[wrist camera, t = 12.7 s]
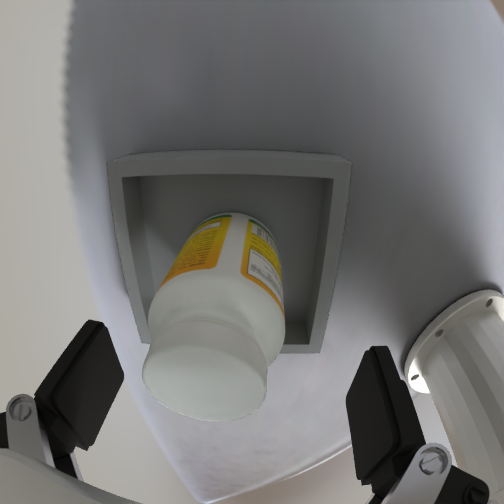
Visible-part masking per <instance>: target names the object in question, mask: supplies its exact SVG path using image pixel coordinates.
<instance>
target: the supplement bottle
mask: <svg viewBox="0 0 504 504" xmlns="http://www.w3.org/2000/svg"><path fill="white" fill-rule="evenodd" d="M148 326H149V332H150V336H151V339H152V342H151V345H150V348H149V351H148V354H147V357H146V359H145V362H144V365H143V369H142V377H143V381H144V384H145V386H146V388H147V390H148V391H149V393H150V394H151V395H152V396H153V397H154V398H155V399H156V400H157V401H158V402H159V403H161V404H162V405H163V406H165V407H167V408H168V409H170V410H172V411H174V412H176V413H178V414H180V415H183V416H186V417H189V418H192V419H197V420H202V421H212V422H223V421H231V420H237V419H241V418H243V417H246V416H248V415H250V414H252V413H253V412H255V411H256V410H257V409H258V408H259V407H260V406H261V405H262V403H263V402H264V399H265V396H266V386H267V372H268V367H269V366H270V365H271V364H272V363H273V362H274V360H275V359H276V358H277V356H278V355H279V353H280V351H281V349H282V346H283V343H284V338H285V315H284V303H283V290H282V278H281V265H280V255H279V249H278V245H277V242H276V240H275V238H274V236H273V235H272V233H271V232H270V230H269V229H268V228H267V227H266V226H265V225H264V224H263V223H261V222H260V221H258V220H257V219H255V218H253V217H251V216H248V215H245V214H241V213H221V214H217V215H215V216H212V217H210V218H208V219H206V220H204V221H203V222H201V223H200V224H199V225H198V226H197V227H196V228H195V229H194V230H193V232H192V233H191V234H190V236H189V237H188V239H187V241H186V243H185V244H184V246H183V248H182V250H181V251H180V253H179V255H178V256H177V258H176V260H175V261H174V263H173V265H172V267H171V268H170V270H169V272H168V274H167V275H166V277H165V279H164V280H163V282H162V284H161V285H160V287H159V289H158V291H157V293H156V294H155V296H154V298H153V301H152V303H151V306H150V309H149V314H148Z"/></svg>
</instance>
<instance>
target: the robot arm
mask: <svg viewBox="0 0 504 504" xmlns="http://www.w3.org/2000/svg"><path fill="white" fill-rule="evenodd" d="M404 373H405V377H406V380H407V382H408V384H409V386H410V387H411V388H412V389H413V390H414V391H417V392H420V393H430V394H431V396H432V399H433V401H434V403H435V405H436V408H437V411H438V413H439V415H440V418H441V421H442V423H443V426H444V428H445V431H446V434H447V436H448V439H449V442H450V445H451V447H452V450H453V453H454V456H455V459H456V462H457V465H458V468H457V467H455V466H453V465H451V464H452V460H451V455H450V452H449V451H448V450H447V448H446V447H444V446H443V445H441V444H438V443H429V444H426V442H425V439H424V435H423V432H422V429H421V426H420V423H419V420H418V416H417V413H416V410H415V407H414V404H413V401H412V399H411V396H410V393H409V390H408V387H407V385H406V383H405V381H403V380H401V379H400V377H399V374H398V371H397V368H396V366H395V363H394V361H393V358H392V355H391V353H390V350H389V348H388V347H387V346H372V347H370V349H369V350H366V351H365V353H364V355H363V358H362V360H361V363H360V365H359V368H358V370H357V373H356V375H355V377H354V380H353V382H352V384H351V387H350V389H349V391H348V393H347V396H346V408H347V414H348V420H349V426H350V433H351V440H352V447H353V454H354V461H355V469H356V477H357V479H358V480H361V483H362V485H369V484H371V486H372V492H373V494H372V495H371V497H370V498H369V499H368V501H367V502H366V503H365V504H504V296H503V295H502V294H501V293H499V292H498V291H495V290H490V289H488V290H480V291H477V292H474V293H471V294H469V295H467V296H465V297H463V298H461V299H459V300H458V301H456V302H455V303H453V304H452V305H450V306H449V307H448V308H447V309H445V310H444V311H443V312H442V313H440V314H439V315H438V316H437V317H436V318H435V319H434V320H433V321H432V322H431V323H430V324H429V325H428V326H427V327H426V329H425V330H424V331H423V332H422V333H421V334H420V336H419V337H418V339H417V340H416V342H415V343H414V345H413V346H412V348H411V350H410V352H409V354H408V356H407V359H406V362H405V369H404ZM123 380H124V372H123V370H122V367H121V365H120V362H119V359H118V357H117V354H116V351H115V349H114V346H113V343H112V340H111V337H110V334H109V331H108V328H107V327H105V325H104V323H103V322H99V321H94V320H88V321H87V322H86V323H85V324H84V325H83V327H82V328H81V329H80V331H79V332H78V333H77V335H76V336H75V337H74V339H73V340H72V341H71V342H70V344H69V345H68V346H67V348H66V349H65V351H64V352H63V353H62V355H61V356H60V358H59V359H58V360H57V362H56V363H55V364H54V366H53V367H52V369H51V370H50V372H49V373H48V375H47V376H46V378H45V379H44V380H43V382H42V383H41V385H40V386H39V388H38V389H37V391H36V392H35V394H34V395H35V398H34V399H33V398H32V397H31V396H29V395H27V394H19V395H16V396H14V397H13V398H12V399H11V400H10V401H9V402H8V405H7V407H6V412H3V413H0V504H141V503H138V502H135V501H132V500H129V499H126V498H123V497H120V496H117V495H114V494H112V493H109V492H106V491H104V490H101V489H99V488H96V487H94V486H92V485H89V484H87V483H85V482H84V481H83V478H82V475H81V473H80V470H79V467H78V464H77V461H76V458H75V455H74V449H75V446H77V447H79V448H81V449H83V450H86V451H87V450H88V448H89V446H92V445H93V444H94V442H95V440H96V437H97V435H98V433H99V431H100V428H101V427H102V424H103V422H104V420H105V418H106V415H107V414H108V411H109V409H110V407H111V405H112V403H113V401H114V399H115V397H116V395H117V393H118V391H119V389H120V387H121V385H122V383H123ZM494 493H495V494H494Z"/></svg>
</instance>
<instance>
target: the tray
mask: <svg viewBox="0 0 504 504" xmlns="http://www.w3.org/2000/svg"><path fill="white" fill-rule="evenodd" d="M351 170H352V163H351V162H349V161H347V160H345V159H344V158H342V157H340V156H338V155H335V154H325V153H312V152H298V151H279V150H245V149H213V150H179V151H161V152H146V153H134V154H129V155H126V156H123V157H121V158H118V159H115V160H112V161H110V162H107V173H108V183H109V191H110V199H111V207H112V214H113V220H114V226H115V232H116V238H117V244H118V249H119V254H120V259H121V264H122V269H123V274H124V278H125V282H126V287H127V291H128V295H129V299H130V303H131V307H132V311H133V314H134V318H135V322H136V325H137V329H138V332H139V336H140V339H141V342H142V343H145V344H151V342H152V339H151V336H150V332H149V326H148V314H149V309H150V306H151V303H152V301H153V298H154V296H155V294H156V293H157V291H158V289H159V287H160V285H161V284H162V282H163V280H164V279H165V277H166V275H167V274H168V272H169V270H170V268H171V267H172V265H173V263H174V261H175V260H176V258H177V256H178V255H179V253H180V251H181V250H182V248H183V246H184V244H185V243H186V241H187V239H188V237H189V236H190V234H191V233H192V232H193V230H194V229H195V228H196V227H197V226H198V225H199V224H200V223H201V222H203V221H204V220H206V219H208V218H210V217H212V216H215V215H217V214H221V213H241V214H245V215H248V216H251V217H253V218H255V219H257V220H258V221H260V222H261V223H263V224H264V225H265V226H266V227H267V228H268V229H269V230H270V232H271V233H272V235H273V236H274V238H275V240H276V242H277V245H278V249H279V255H280V265H281V278H282V290H283V303H284V315H285V338H284V343H283V346H282V349H281V351H280V353H320V350H321V346H322V342H323V338H324V334H325V329H326V325H327V320H328V316H329V311H330V306H331V302H332V297H333V292H334V286H335V281H336V276H337V270H338V265H339V259H340V253H341V247H342V240H343V234H344V227H345V220H346V213H347V205H348V197H349V189H350V179H351Z"/></svg>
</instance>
